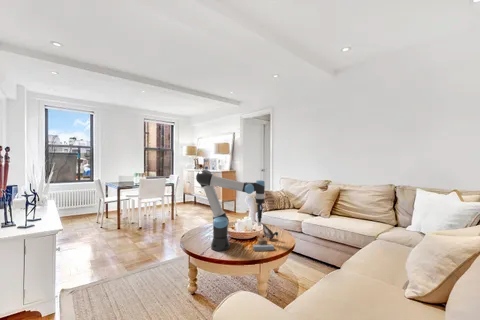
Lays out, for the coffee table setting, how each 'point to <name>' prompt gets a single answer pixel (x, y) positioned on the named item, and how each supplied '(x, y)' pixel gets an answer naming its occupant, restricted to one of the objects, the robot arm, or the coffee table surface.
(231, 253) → the coffee table surface
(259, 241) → the walnut block
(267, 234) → the decorative duck model
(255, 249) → the board
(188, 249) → the coffee table surface
